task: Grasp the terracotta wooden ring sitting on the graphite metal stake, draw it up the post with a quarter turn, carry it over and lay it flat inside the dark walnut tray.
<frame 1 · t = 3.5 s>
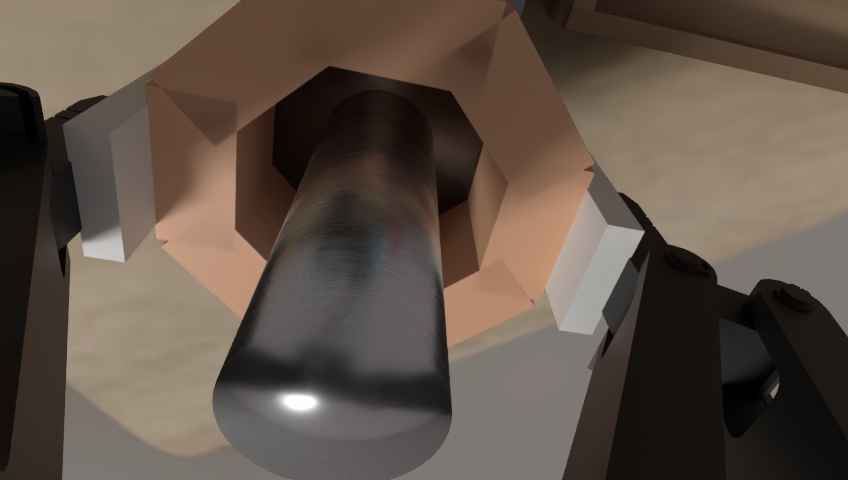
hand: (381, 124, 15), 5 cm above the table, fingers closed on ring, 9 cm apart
ring: (378, 144, 14), point 7 cm above the table, touching gripper, stake
stake: (389, 75, 20), on the table
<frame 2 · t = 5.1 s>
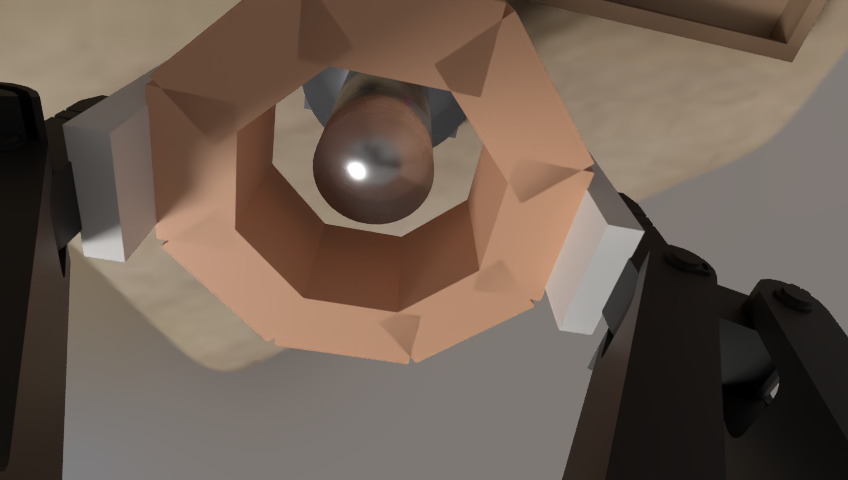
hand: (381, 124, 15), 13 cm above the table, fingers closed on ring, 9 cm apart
ring: (378, 144, 14), point 14 cm above the table, touching gripper
stake: (395, 38, 27), on the table
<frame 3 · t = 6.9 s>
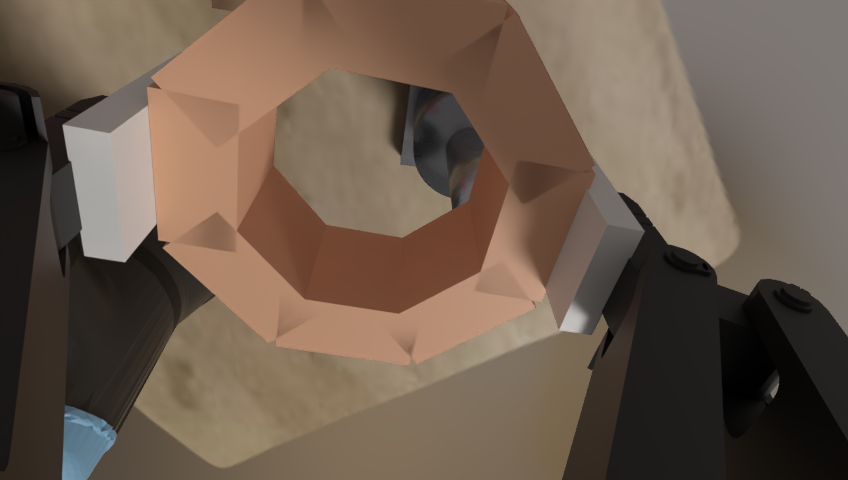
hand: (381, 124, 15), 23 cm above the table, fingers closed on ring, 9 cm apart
ring: (379, 145, 14), point 24 cm above the table, touching gripper
stake: (461, 113, 38), on the table
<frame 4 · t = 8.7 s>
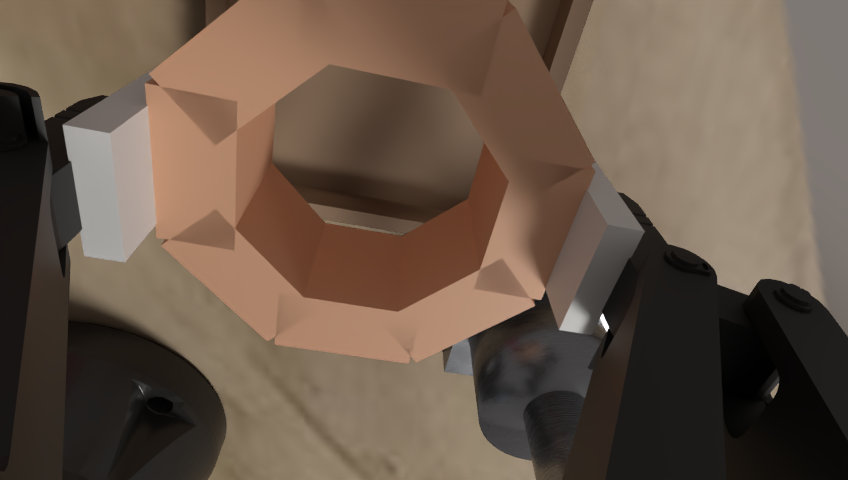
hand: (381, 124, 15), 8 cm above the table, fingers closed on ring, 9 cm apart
ring: (378, 143, 14), point 9 cm above the table, touching gripper
stake: (527, 312, 29), on the table
tray: (389, 61, 22), on the table
when the fingers open (2 cm above the table, at t = 10.4 s): ring drops 3 cm, resting on tray.
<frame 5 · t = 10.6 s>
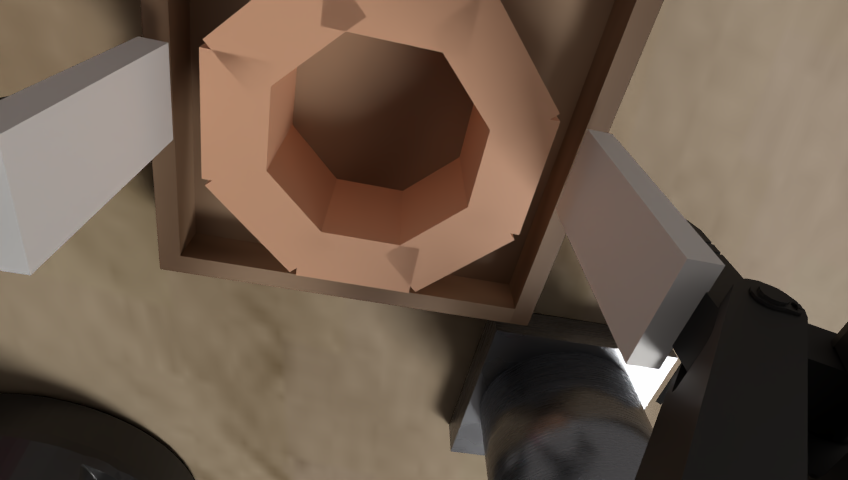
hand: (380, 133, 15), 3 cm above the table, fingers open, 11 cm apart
ring: (383, 107, 17), point 1 cm above the table, touching tray
stake: (549, 382, 25), on the table
tray: (385, 99, 18), on the table
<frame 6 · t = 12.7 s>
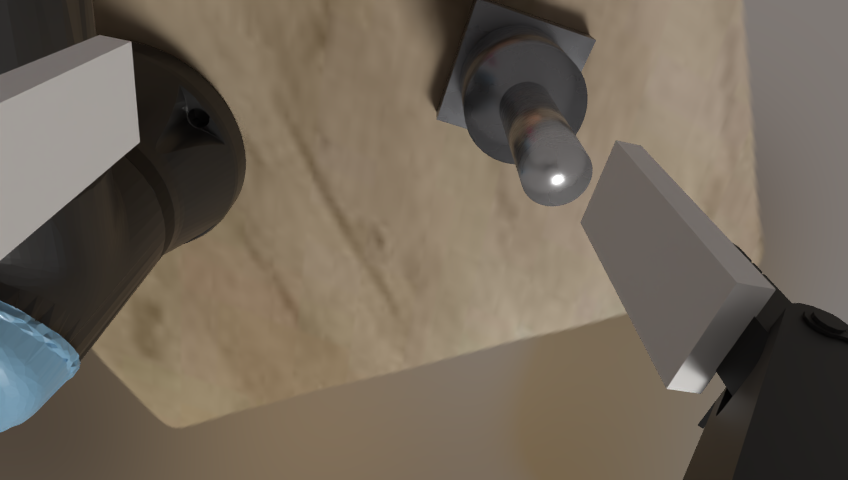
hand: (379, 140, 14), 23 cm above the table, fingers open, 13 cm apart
stake: (510, 75, 36), on the table
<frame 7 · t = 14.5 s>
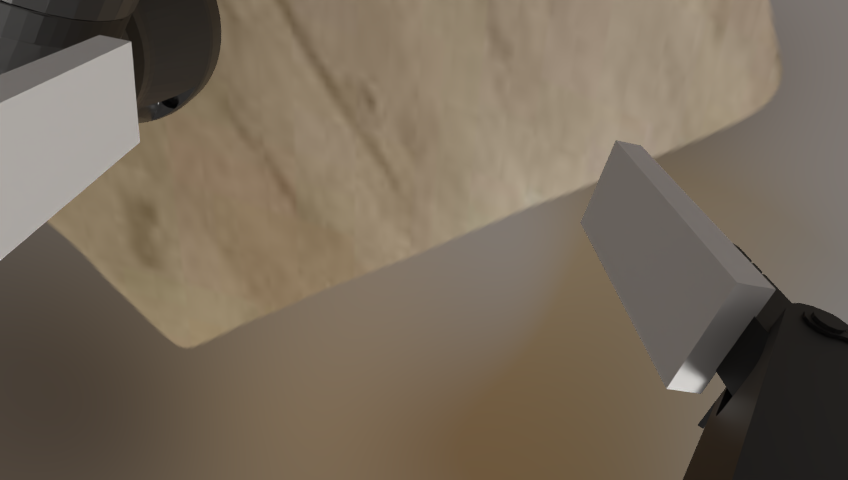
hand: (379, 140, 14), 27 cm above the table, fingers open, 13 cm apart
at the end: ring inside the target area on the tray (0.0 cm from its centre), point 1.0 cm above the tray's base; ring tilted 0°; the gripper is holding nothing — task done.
